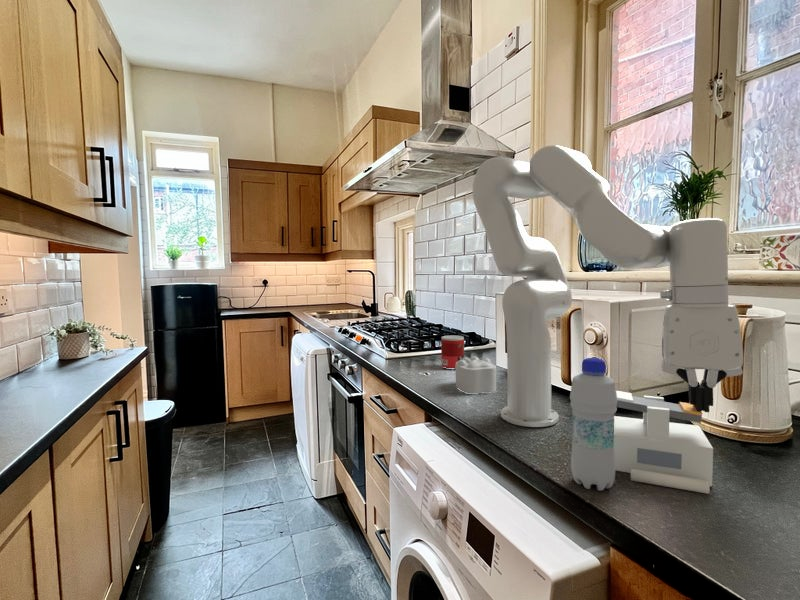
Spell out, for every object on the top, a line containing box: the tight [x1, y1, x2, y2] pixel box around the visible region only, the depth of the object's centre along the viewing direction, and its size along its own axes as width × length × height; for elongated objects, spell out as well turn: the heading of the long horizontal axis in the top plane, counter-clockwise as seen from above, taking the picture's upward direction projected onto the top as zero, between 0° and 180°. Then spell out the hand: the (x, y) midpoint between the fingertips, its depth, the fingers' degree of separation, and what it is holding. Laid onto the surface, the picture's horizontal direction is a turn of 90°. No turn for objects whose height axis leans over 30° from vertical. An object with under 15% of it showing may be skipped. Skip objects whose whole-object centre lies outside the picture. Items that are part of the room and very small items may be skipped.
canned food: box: [440, 334, 465, 368], centre depth 144 cm, size 8×8×11 cm
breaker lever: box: [616, 390, 703, 424], centre depth 70 cm, size 5×12×2 cm, turn 64°
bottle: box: [569, 357, 618, 492], centre depth 64 cm, size 7×7×20 cm
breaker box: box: [614, 395, 714, 487], centre depth 70 cm, size 10×14×11 cm
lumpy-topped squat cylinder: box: [454, 356, 497, 393], centre depth 119 cm, size 10×13×9 cm
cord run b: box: [630, 468, 711, 494], centre depth 63 cm, size 10×2×2 cm, turn 64°
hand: (700, 409), depth 67 cm, fingers closed
